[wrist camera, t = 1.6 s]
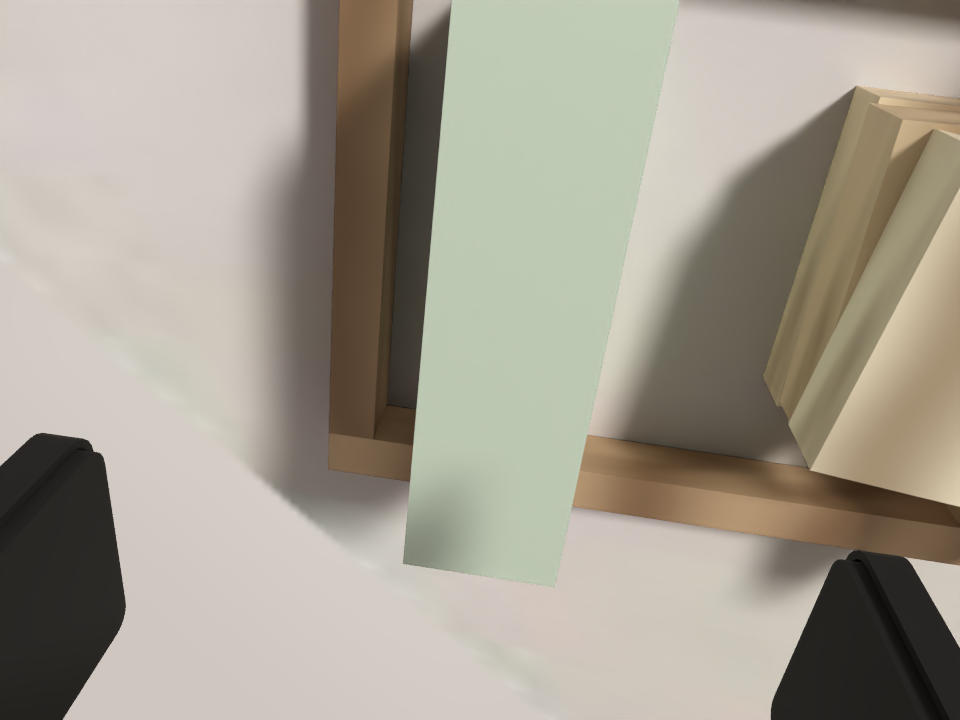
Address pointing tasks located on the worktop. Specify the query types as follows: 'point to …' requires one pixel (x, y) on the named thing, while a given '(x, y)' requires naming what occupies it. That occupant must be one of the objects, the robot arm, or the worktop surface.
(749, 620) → the worktop surface
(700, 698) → the worktop surface
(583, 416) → the panel
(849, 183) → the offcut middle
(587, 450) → the frame
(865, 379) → the offcut top
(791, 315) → the offcut bottom
